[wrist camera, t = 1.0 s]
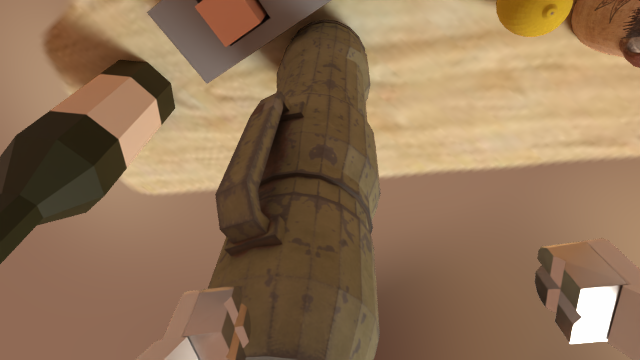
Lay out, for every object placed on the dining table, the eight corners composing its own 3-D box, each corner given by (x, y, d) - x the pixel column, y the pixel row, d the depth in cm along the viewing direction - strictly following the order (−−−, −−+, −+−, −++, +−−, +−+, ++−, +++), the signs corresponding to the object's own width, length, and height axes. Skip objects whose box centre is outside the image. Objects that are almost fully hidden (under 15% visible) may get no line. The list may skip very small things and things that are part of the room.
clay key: (240, -29, 33) (230, -22, 31) (267, 12, 35) (260, 22, 32) (206, -3, 35) (194, 6, 32) (234, 35, 37) (225, 47, 34)
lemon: (496, 32, 38) (525, 60, 32) (477, -19, 36) (505, 1, 29) (554, 1, 36) (597, 25, 30) (539, -56, 34) (583, -43, 27)
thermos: (319, 121, 46) (272, 475, 18) (262, 34, 40) (63, 359, 12) (386, 88, 43) (454, 454, 15) (335, -12, 37) (292, 284, 9)
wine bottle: (89, 70, 44) (-222, 284, 20) (150, 48, 42) (-115, 258, 18) (132, 130, 48) (-79, 363, 25) (188, 114, 46) (18, 349, 23)
